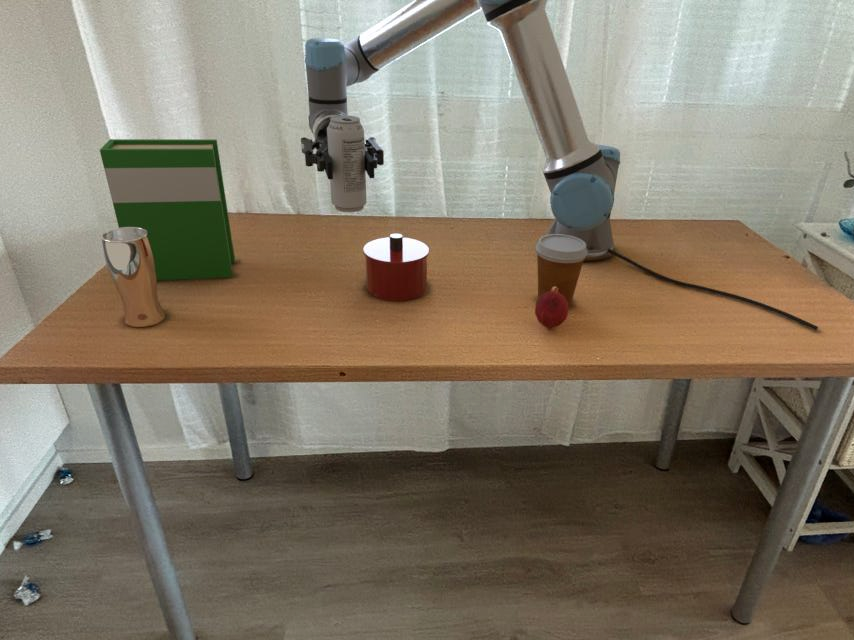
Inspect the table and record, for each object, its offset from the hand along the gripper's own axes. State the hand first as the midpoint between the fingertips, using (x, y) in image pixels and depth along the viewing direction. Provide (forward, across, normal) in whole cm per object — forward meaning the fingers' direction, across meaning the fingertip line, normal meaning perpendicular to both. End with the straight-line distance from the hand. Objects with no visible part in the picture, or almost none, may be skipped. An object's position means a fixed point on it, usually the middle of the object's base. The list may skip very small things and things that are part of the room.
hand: (351, 170), depth 105 cm
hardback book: (-20, +30, -24) cm, 44 cm away
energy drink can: (-5, 0, -8) cm, 10 cm away
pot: (-5, -8, -24) cm, 26 cm away
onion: (+16, -31, -24) cm, 43 cm away
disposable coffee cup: (+7, -36, -24) cm, 44 cm away
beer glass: (-1, +35, -24) cm, 43 cm away
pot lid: (-5, -8, -17) cm, 19 cm away
